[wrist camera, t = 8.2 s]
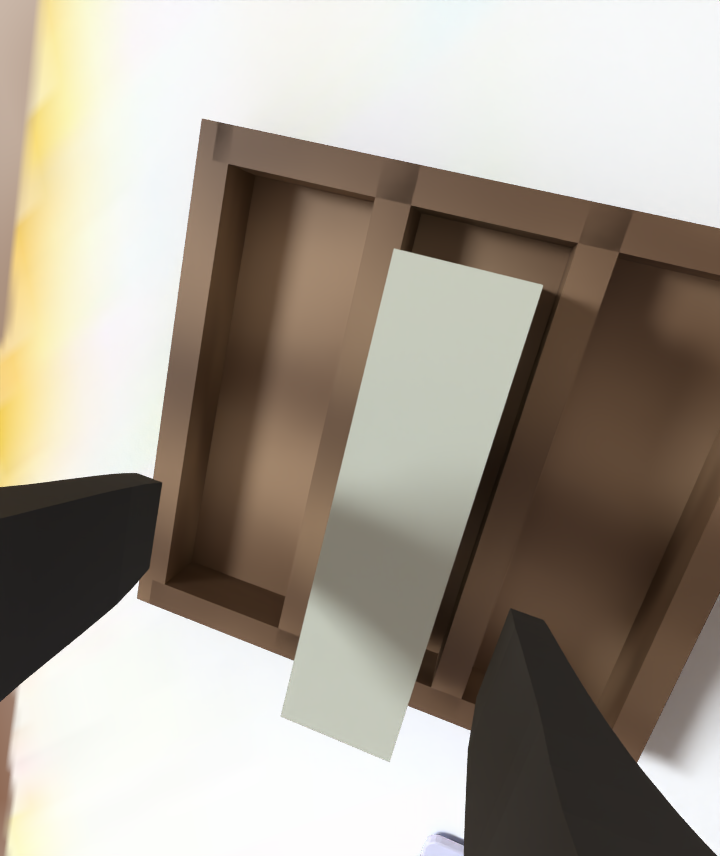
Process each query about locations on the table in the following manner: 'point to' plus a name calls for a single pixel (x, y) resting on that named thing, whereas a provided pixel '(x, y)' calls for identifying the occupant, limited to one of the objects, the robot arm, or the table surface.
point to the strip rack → (515, 436)
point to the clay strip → (405, 492)
